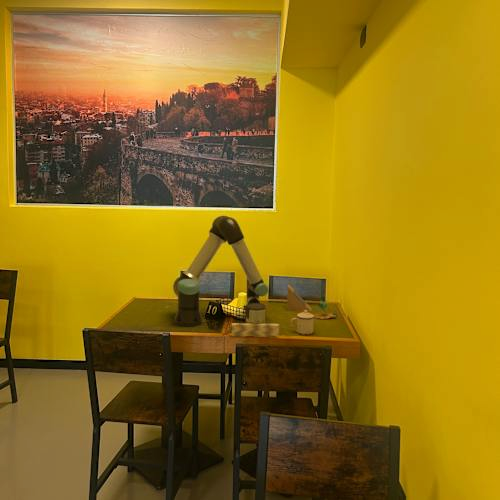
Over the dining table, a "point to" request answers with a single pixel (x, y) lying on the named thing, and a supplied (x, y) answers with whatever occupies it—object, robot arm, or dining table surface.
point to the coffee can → (255, 313)
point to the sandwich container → (295, 301)
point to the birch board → (255, 329)
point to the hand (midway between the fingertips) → (256, 315)
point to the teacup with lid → (304, 322)
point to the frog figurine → (323, 305)
